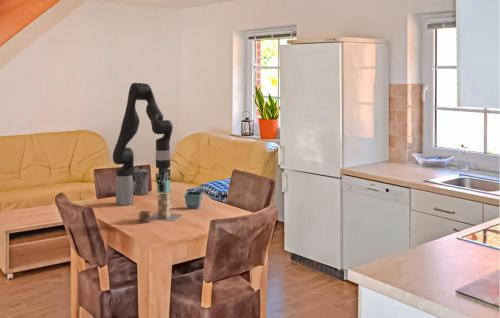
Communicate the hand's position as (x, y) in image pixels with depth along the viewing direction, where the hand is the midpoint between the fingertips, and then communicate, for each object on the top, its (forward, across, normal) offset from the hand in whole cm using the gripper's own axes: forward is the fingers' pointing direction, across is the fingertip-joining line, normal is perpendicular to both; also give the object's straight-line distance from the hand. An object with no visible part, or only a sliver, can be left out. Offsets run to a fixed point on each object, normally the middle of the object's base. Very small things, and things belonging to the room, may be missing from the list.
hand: (163, 190), depth 289 cm
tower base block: (+14, 0, 0) cm, 14 cm away
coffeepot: (+16, -54, -40) cm, 69 cm away
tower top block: (+8, 0, 0) cm, 8 cm away
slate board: (+15, 0, 0) cm, 15 cm away
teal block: (+1, 0, 0) cm, 1 cm away
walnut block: (+16, +11, -6) cm, 20 cm away
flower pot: (+16, -26, +7) cm, 31 cm away
